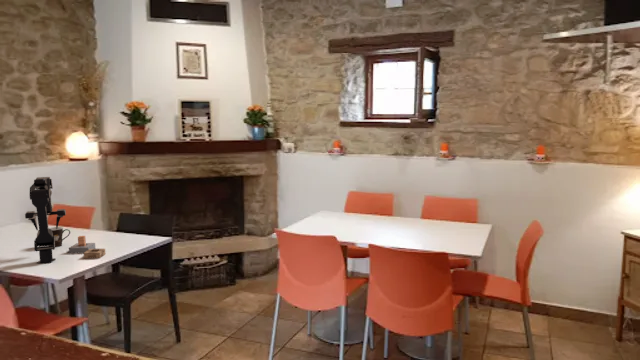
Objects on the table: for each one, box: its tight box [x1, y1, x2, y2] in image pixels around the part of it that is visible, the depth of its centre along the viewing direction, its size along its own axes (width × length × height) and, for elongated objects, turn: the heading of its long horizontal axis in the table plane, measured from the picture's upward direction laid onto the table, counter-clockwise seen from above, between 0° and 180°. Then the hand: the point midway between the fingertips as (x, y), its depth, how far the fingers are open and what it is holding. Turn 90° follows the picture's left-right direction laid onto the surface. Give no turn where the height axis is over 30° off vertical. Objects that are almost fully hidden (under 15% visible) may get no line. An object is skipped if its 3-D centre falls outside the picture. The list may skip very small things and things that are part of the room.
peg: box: [77, 235, 87, 246], centre depth 278 cm, size 3×3×8 cm
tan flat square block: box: [83, 248, 106, 260], centre depth 267 cm, size 8×8×3 cm
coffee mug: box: [48, 226, 71, 248], centre depth 288 cm, size 12×9×10 cm
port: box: [68, 242, 96, 254], centre depth 278 cm, size 10×10×3 cm
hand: (47, 229), depth 271 cm, fingers open, 9 cm apart
